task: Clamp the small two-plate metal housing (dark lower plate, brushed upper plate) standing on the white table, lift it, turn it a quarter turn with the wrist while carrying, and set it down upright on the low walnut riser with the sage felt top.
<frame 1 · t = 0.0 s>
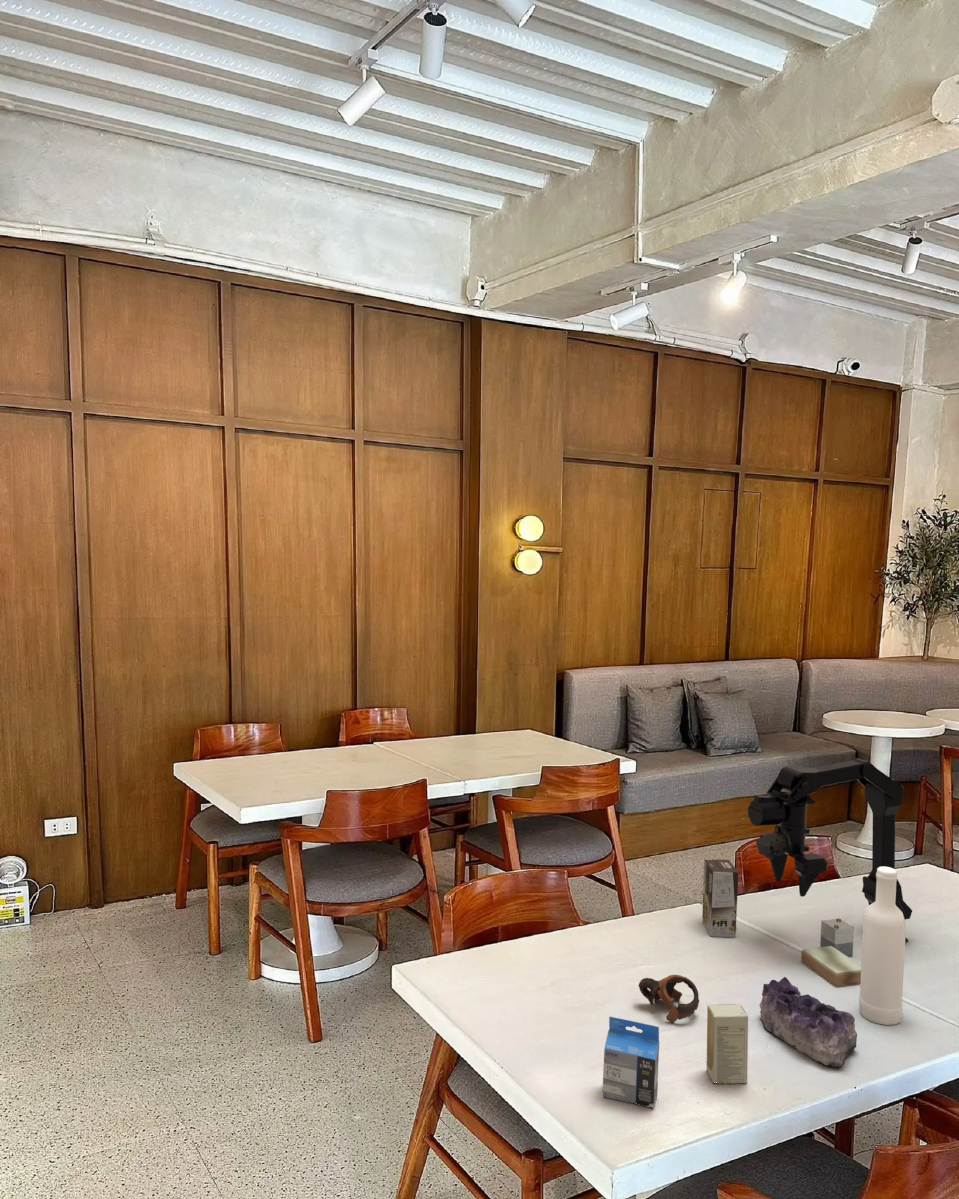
hand: (790, 888, 206), 15 cm above the table, tool pointing down, fingers open, 9 cm apart
riser: (833, 972, 196), on the table
housing: (836, 953, 206), on the table
skincare box: (725, 1078, 156), on the table
geode: (802, 1041, 168), on the table
bottle: (879, 1016, 178), on the table
label tape box: (629, 1098, 150), on the table
brown curved loop piece: (668, 1011, 178), on the table
coffee box: (718, 930, 217), on the table
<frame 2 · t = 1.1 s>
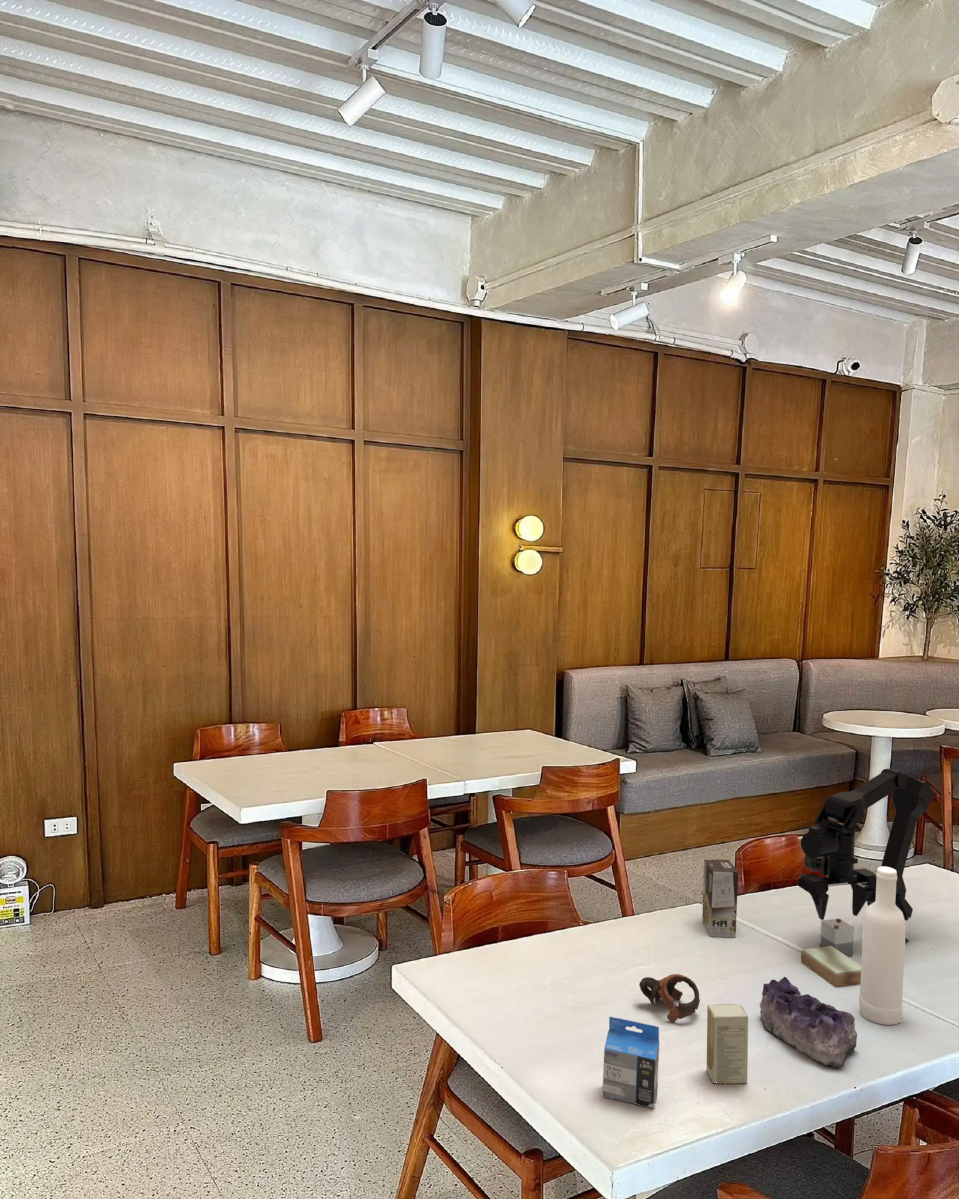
hand: (838, 917, 205), 8 cm above the table, tool pointing down, fingers open, 9 cm apart
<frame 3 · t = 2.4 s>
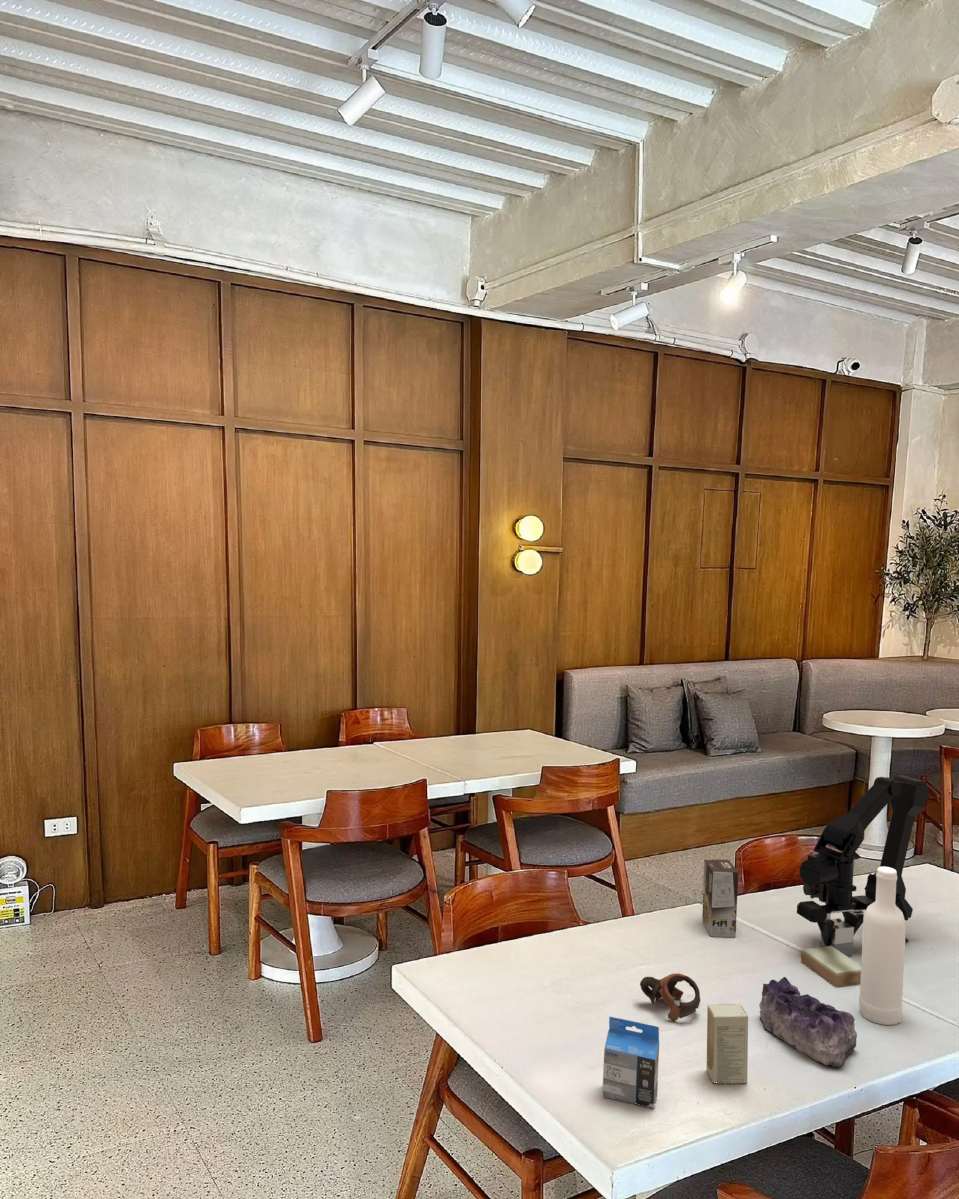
hand: (836, 944, 206), 2 cm above the table, tool pointing down, fingers closed on housing, 5 cm apart
housing: (836, 953, 206), on the table, touching gripper
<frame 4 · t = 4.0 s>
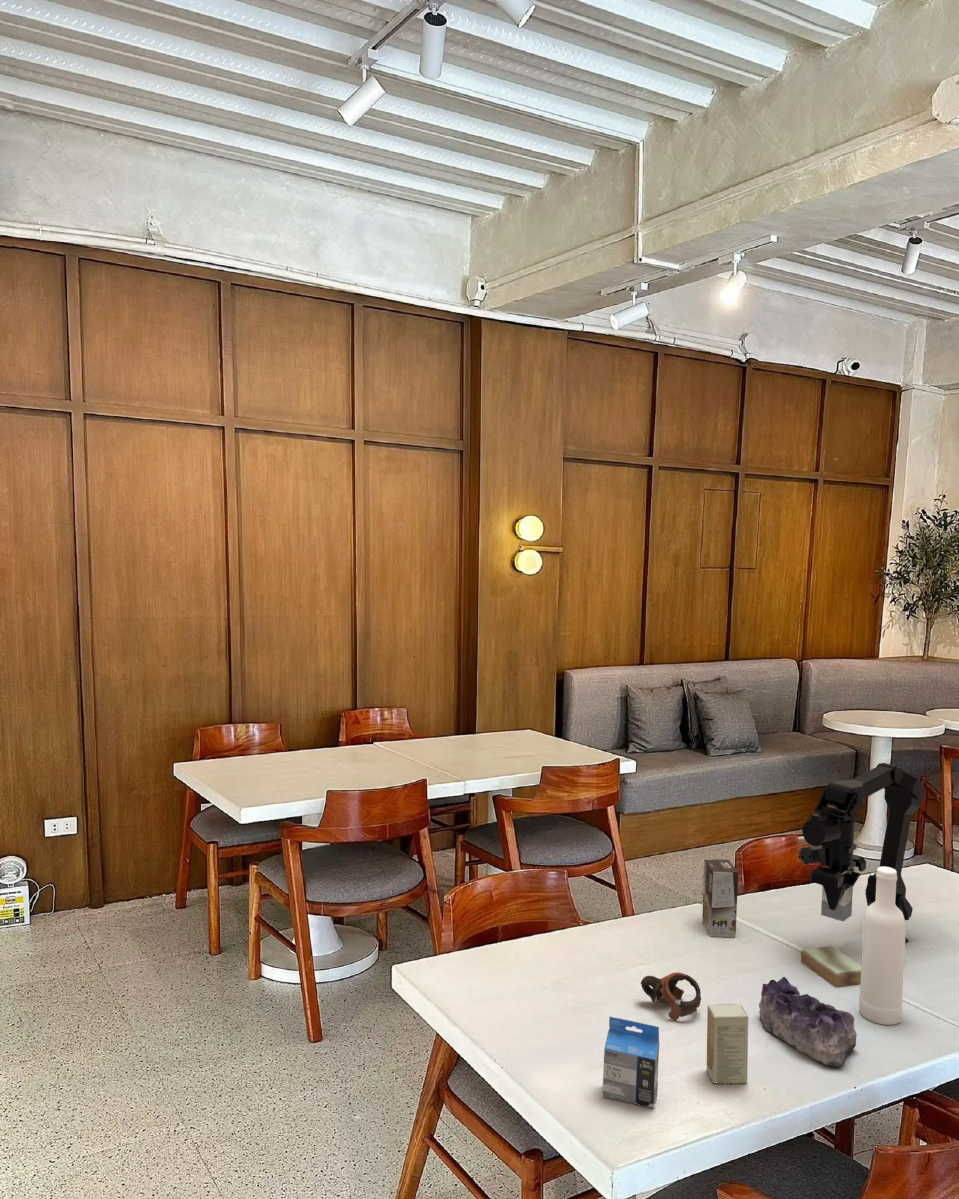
hand: (836, 906, 202), 12 cm above the table, tool pointing down, fingers closed on housing, 5 cm apart
housing: (836, 915, 202), point 10 cm above the table, touching gripper
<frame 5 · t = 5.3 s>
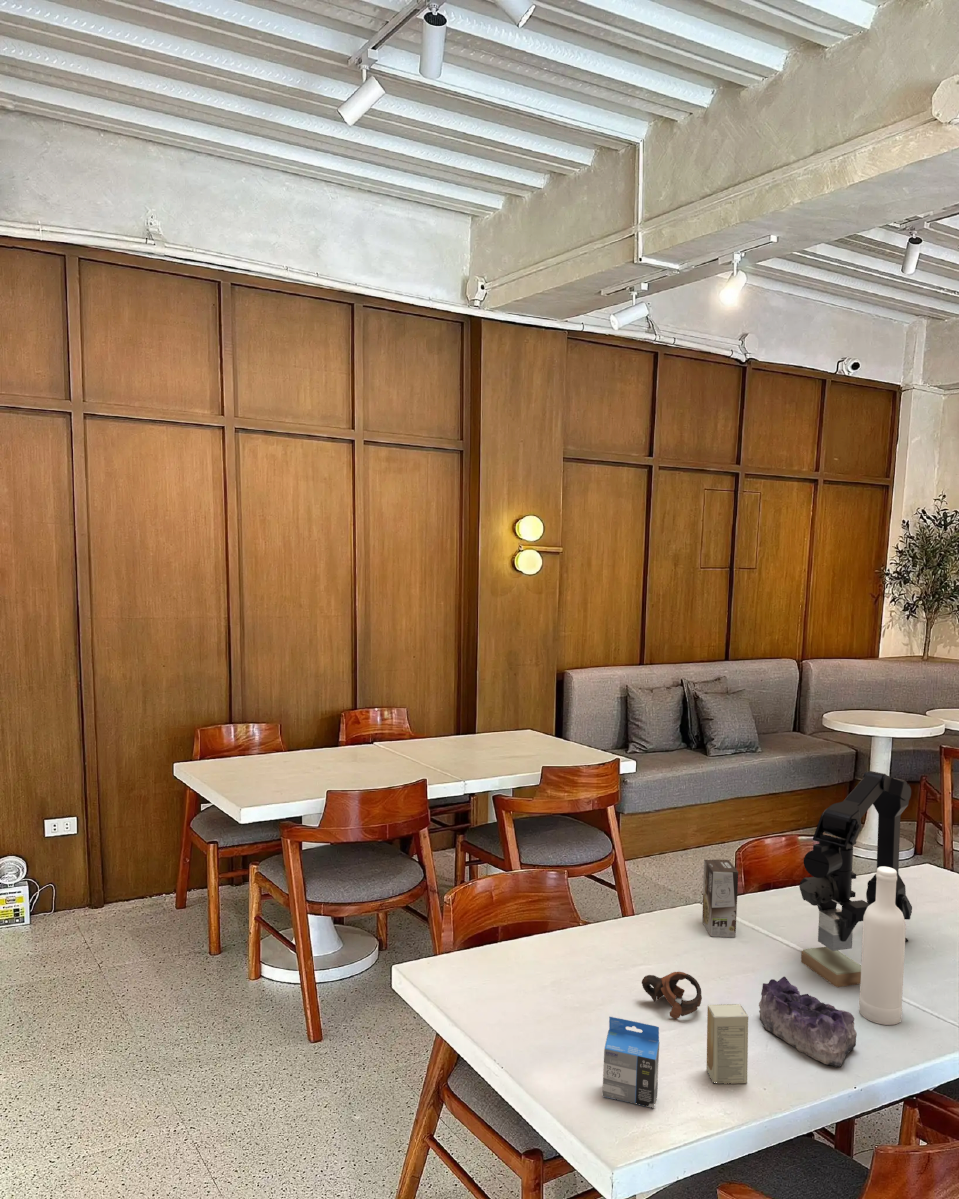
hand: (835, 935, 196), 8 cm above the table, tool pointing down, fingers closed on housing, 5 cm apart
housing: (834, 944, 196), point 6 cm above the table, touching gripper
when the fingers open (6 cm above the table, at t = 6.1 s): housing stays where it is, resting on riser.
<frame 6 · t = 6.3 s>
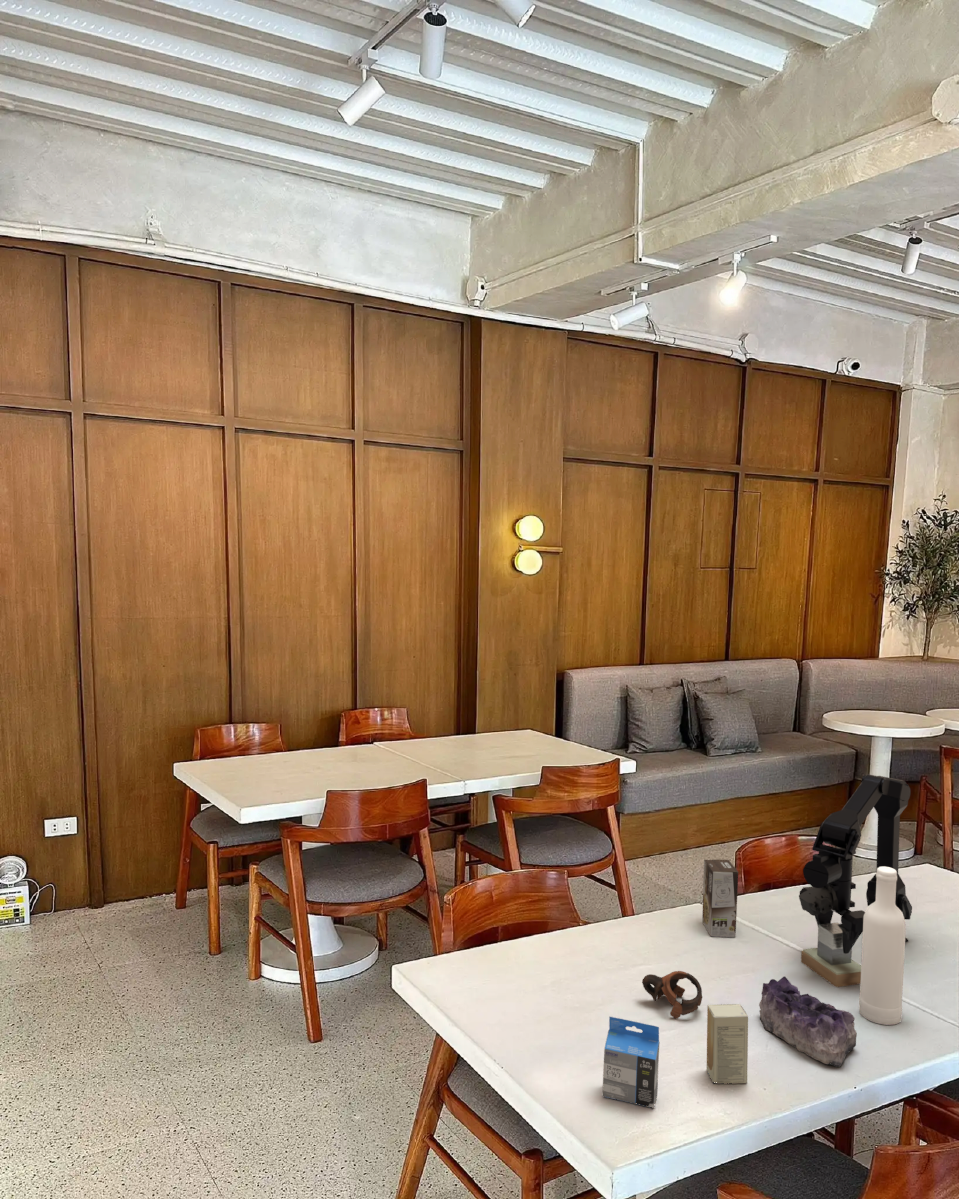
hand: (834, 945, 196), 6 cm above the table, tool pointing down, fingers open, 7 cm apart
housing: (834, 959, 196), point 3 cm above the table, touching riser
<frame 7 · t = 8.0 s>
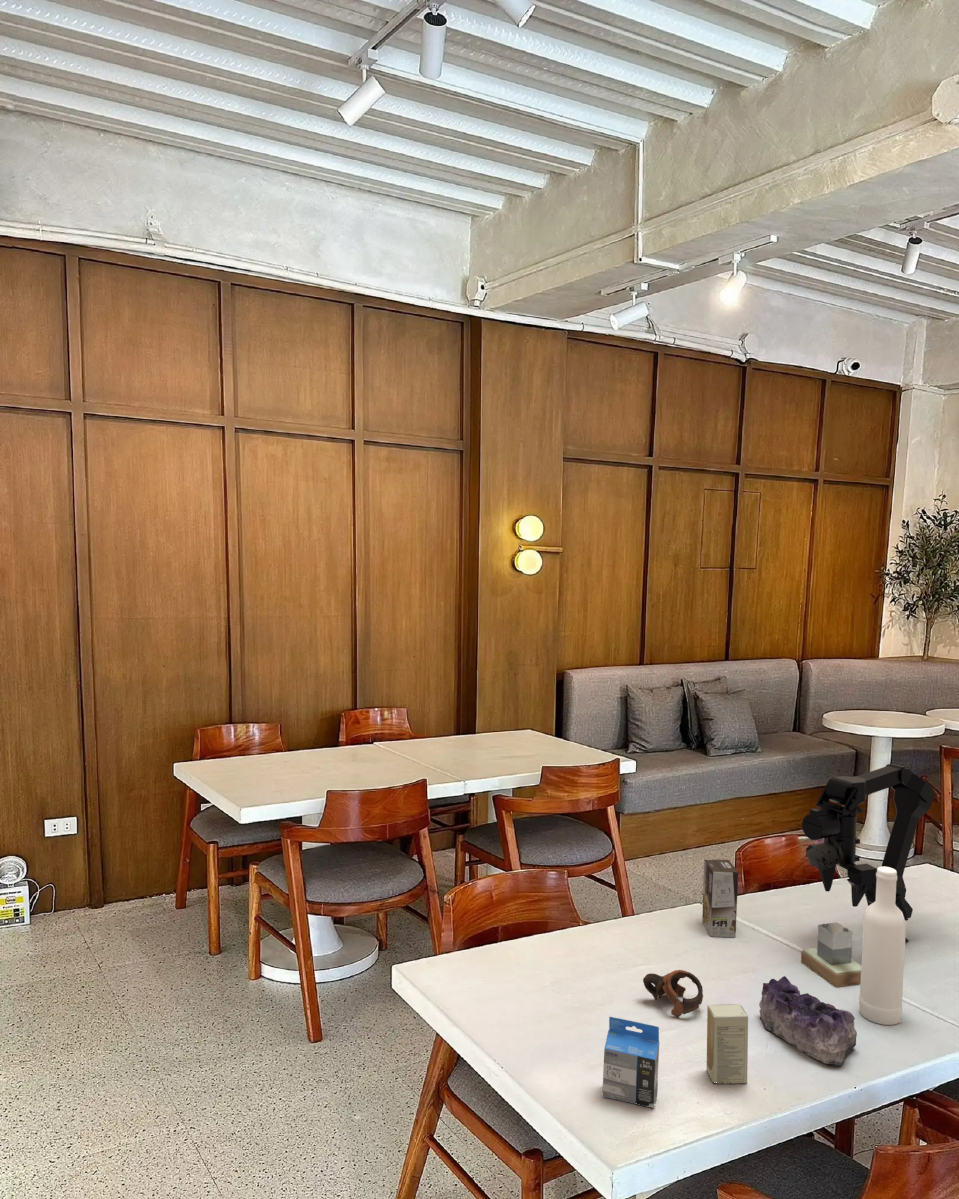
hand: (841, 898, 206), 13 cm above the table, tool pointing down, fingers open, 9 cm apart
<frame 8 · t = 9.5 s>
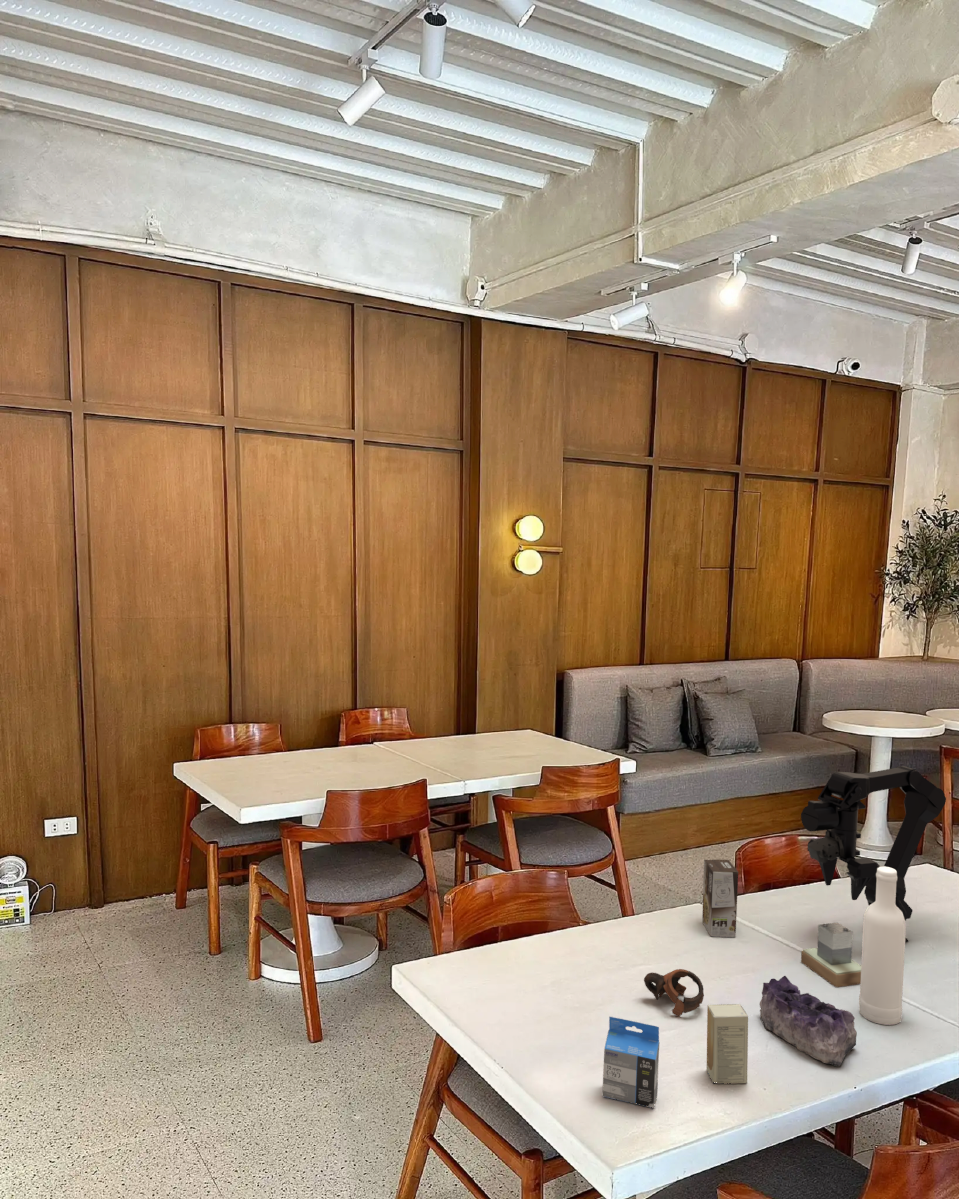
hand: (840, 892, 209), 13 cm above the table, tool pointing down, fingers open, 9 cm apart
at the end: housing inside the target area on the riser (0.0 cm from its centre), point 3.0 cm above the riser's base; housing tilted 0°; the gripper is holding nothing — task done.
